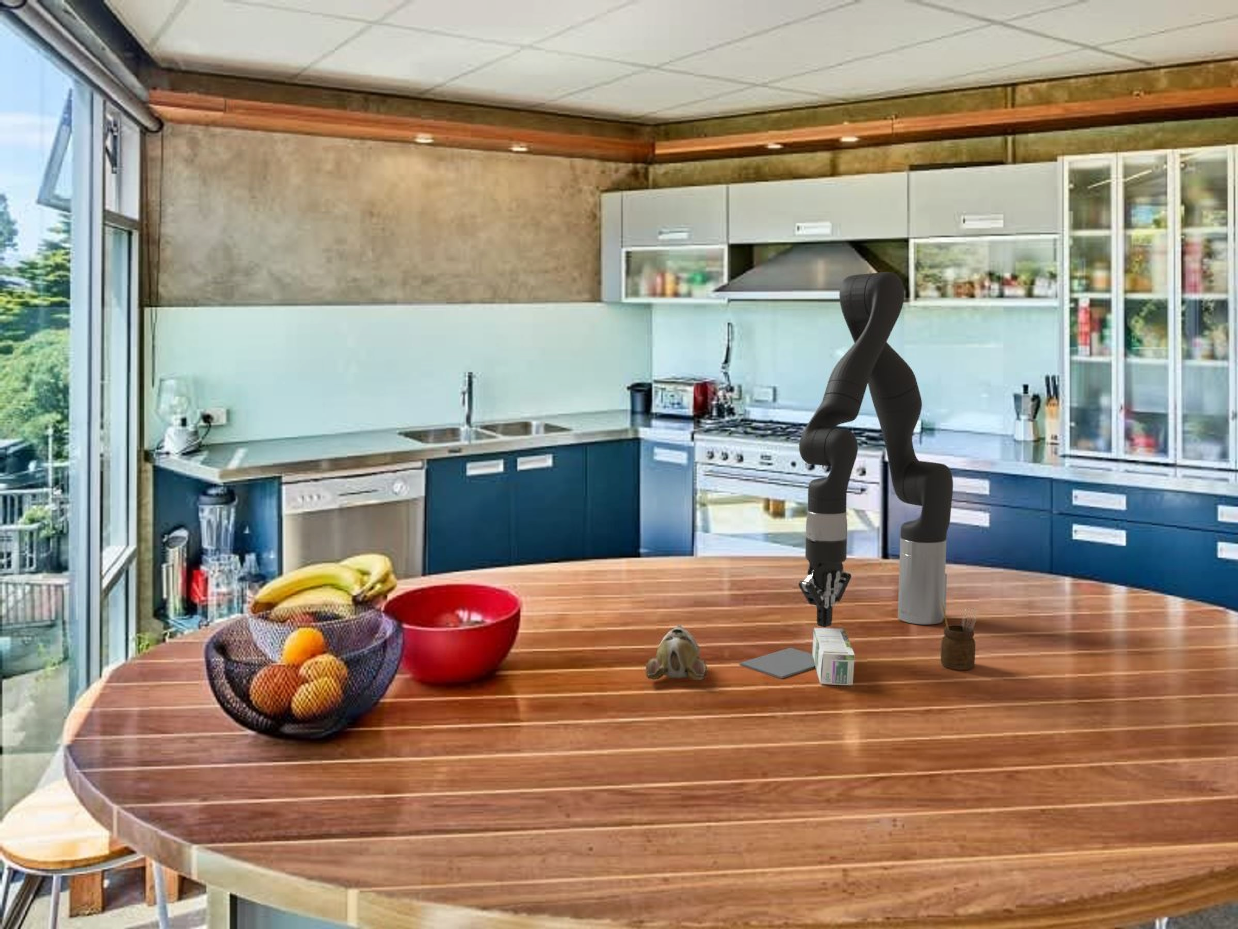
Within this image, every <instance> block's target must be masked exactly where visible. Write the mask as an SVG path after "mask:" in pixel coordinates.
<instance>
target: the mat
mask: <svg viewBox="0 0 1238 929" xmlns="http://www.w3.org/2000/svg"><path fill="white" fill-rule="evenodd" d="M739 665H740V666H742V667H745V668H748V669H750V670H754V671H756V672H759V673H762V674H765V675H769V676H772V677H773V678H778V679H784V678H787V677H792V676H794V675H797V674H800V673H803V672H806V671H807V672H808V671H810V670H812V669H816V667H815V664H814V661H813V657H812V653H810V652H807V651H804V650H800V649H796V648H793V647H788V648H786V649H785V648H784V649H780V650H779V651H775V652H772V653H771V652H770V653H768V654H765V655H761V656H758V657H754V658H752V659H748V660H744V661H741V662H739Z"/></svg>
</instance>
